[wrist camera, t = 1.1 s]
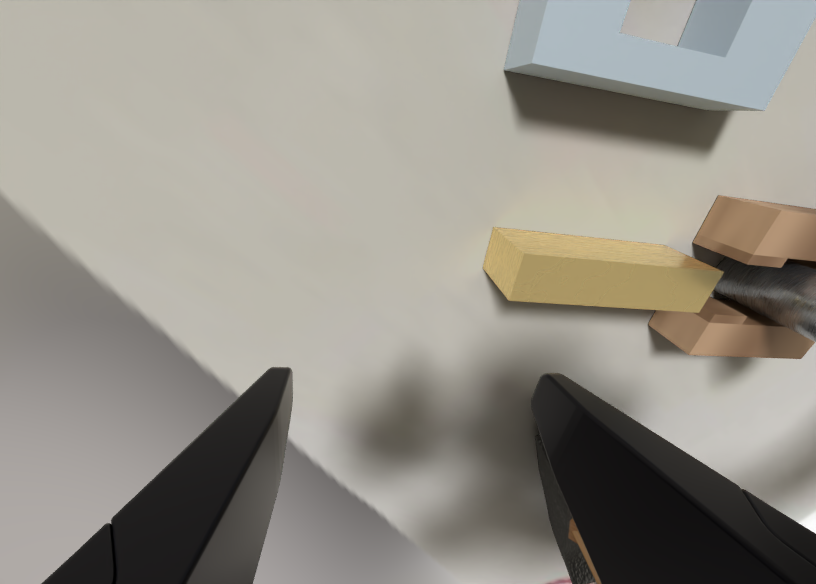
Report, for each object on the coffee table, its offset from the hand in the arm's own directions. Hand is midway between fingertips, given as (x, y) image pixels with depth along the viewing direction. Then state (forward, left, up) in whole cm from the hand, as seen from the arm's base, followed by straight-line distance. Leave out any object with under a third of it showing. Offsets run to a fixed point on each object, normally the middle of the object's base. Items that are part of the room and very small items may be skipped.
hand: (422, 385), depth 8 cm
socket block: (-21, 0, -10) cm, 23 cm away
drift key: (-10, 0, -10) cm, 14 cm away
